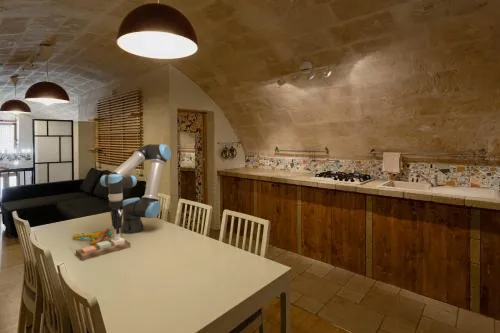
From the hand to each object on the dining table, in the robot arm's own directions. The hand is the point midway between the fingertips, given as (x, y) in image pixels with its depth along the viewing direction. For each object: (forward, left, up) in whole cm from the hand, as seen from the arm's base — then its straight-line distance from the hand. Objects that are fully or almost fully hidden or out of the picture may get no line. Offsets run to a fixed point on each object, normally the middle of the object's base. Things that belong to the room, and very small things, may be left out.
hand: (117, 238), depth 170 cm
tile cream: (0, 0, -3) cm, 3 cm away
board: (+8, 0, -5) cm, 9 cm away
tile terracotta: (+16, 0, -4) cm, 16 cm away
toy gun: (+11, -20, -5) cm, 24 cm away
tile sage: (+8, 0, -3) cm, 8 cm away
